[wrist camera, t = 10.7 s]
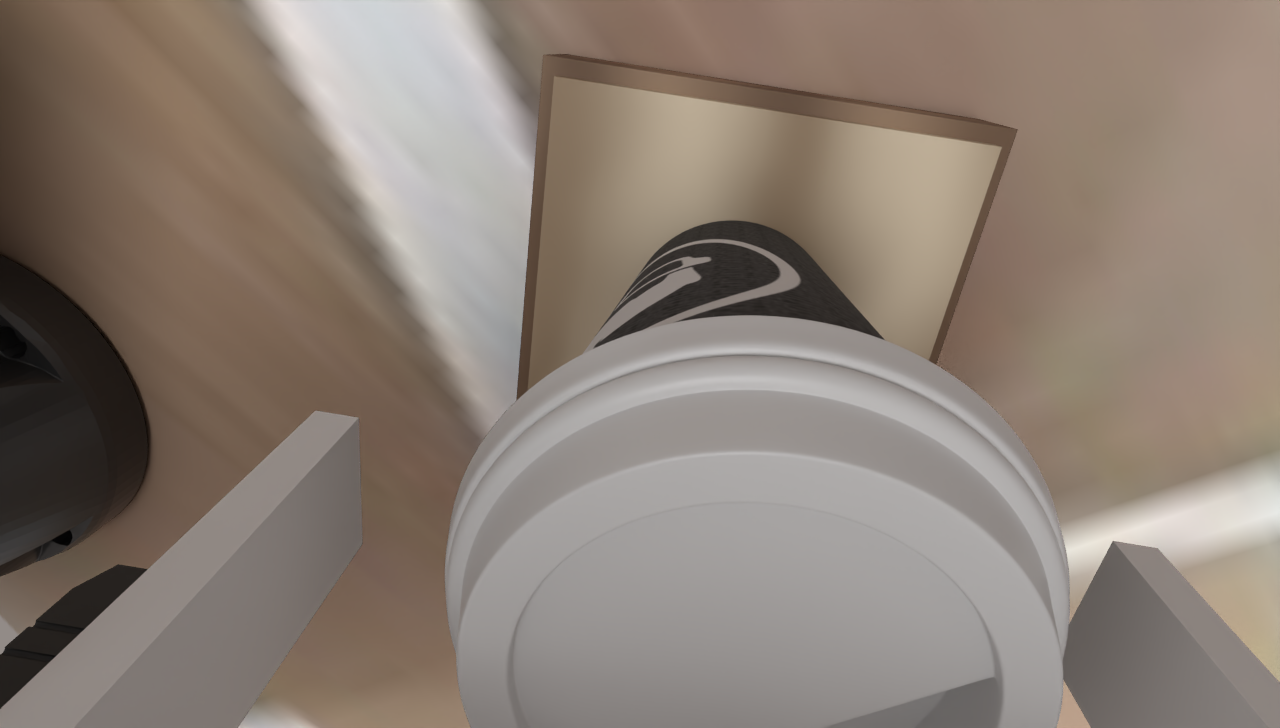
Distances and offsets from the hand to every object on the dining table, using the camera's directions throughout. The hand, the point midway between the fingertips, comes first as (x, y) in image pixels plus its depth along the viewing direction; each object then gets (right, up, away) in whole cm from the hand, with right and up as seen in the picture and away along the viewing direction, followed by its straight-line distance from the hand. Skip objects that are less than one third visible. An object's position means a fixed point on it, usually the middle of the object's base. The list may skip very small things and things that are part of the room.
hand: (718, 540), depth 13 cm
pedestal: (+2, +6, +14) cm, 16 cm away
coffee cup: (+2, +5, +11) cm, 12 cm away
